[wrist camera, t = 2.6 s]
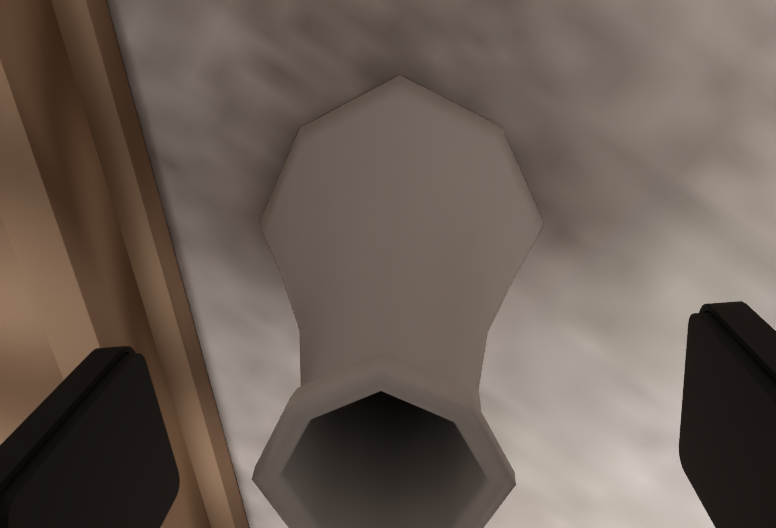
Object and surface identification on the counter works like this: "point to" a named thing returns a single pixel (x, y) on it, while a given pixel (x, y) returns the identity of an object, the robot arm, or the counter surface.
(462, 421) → the flask
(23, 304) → the wooden crate tray
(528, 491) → the counter surface
